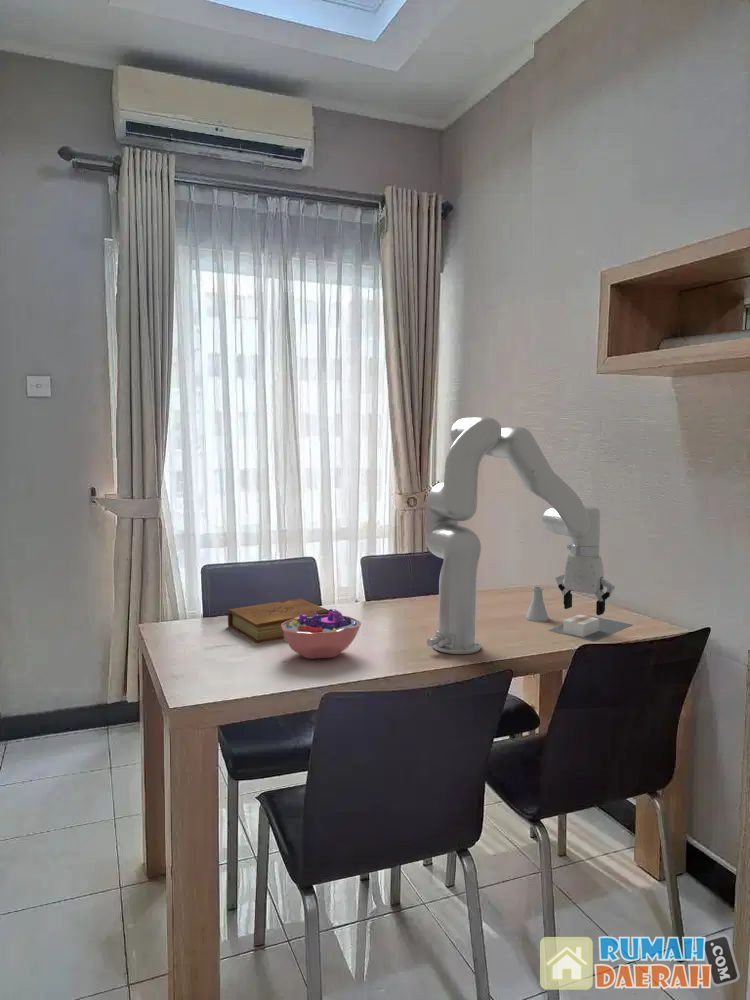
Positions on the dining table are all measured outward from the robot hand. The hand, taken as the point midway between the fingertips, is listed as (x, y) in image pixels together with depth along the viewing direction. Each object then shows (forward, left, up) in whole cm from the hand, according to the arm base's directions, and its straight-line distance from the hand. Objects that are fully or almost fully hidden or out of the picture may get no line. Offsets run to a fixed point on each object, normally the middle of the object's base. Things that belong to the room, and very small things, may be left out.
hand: (583, 611), depth 192 cm
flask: (+2, +16, -7) cm, 18 cm away
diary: (-60, +61, -7) cm, 86 cm away
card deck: (-1, 0, -6) cm, 6 cm away
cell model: (-67, +35, -7) cm, 76 cm away
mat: (+5, 0, -6) cm, 8 cm away
